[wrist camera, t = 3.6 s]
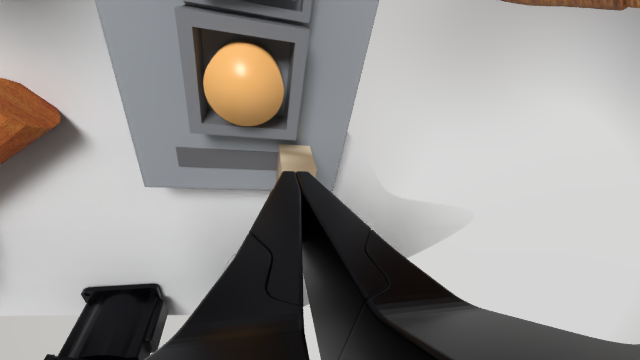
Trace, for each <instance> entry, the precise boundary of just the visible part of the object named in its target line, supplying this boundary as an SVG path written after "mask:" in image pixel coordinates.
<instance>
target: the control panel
mask: <svg viewBox="0 0 640 360" xmlns="http://www.w3.org/2000/svg"><path fill="white" fill-rule="evenodd" d="M95 3H96V6H97V10H98V14H99V18H100V21H101V25H102V29H103V32H104V36H105V40H106V44H107V47H108V51H109V55H110V59H111V62H112V66H113V70H114V74H115V77H116V81H117V85H118V88H119V92H120V96H121V100H122V103H123V107H124V111H125V115H126V118H127V122H128V126H129V130H130V133H131V137H132V141H133V144H134V148H135V152H136V156H137V159H138V163H139V167H140V171H141V174H142V178H143V182H144V186H145V187H167V188H214V189H262V190H273V188H274V186H275V184H276V173H277V162H278V150H279V144H287V145H303V146H310V148H311V152H312V155H313V158H314V162H315V165H316V168H317V172H316V177H315V178H316V179H317V180H318V181H319V182H320V183H321V184H322V185H324V186H325V187H326V188H327V189H328V190H329V191H333V187H334V183H335V179H336V175H337V171H338V167H339V162H340V158H341V154H342V150H343V146H344V142H345V138H346V134H347V130H348V126H349V122H350V117H351V113H352V109H353V105H354V101H355V97H356V93H357V89H358V84H359V81H360V76H361V73H362V68H363V64H364V60H365V56H366V52H367V48H368V44H369V40H370V36H371V31H372V28H373V23H374V19H375V15H376V11H377V7H378V3H379V0H95ZM235 39H250V40H253V41H256V42H258V43H260V44H262V45H263V46H265V47H266V48H267V49H268V50H269V51H270V52H271V53H272V54H273V56H274V57H275V59H276V61H277V62H278V65H279V68H280V73H281V77H282V82H283V87H284V96H283V101H282V104H281V106H280V108H279V110H278V112H277V113H276V114H275V115H274V116H273V117H272V118H271V119H270V120H268V121H266V122H264V123H262V124H259V125H255V126H241V125H236V124H233V123H231V122H229V121H227V120H225V119H223V118H222V117H221V116H219V115H218V114H217V113H216V112H215V111H214V110H213V108H212V107H211V106H210V104H209V102H208V100H207V98H206V95H205V92H204V86H203V80H204V74H205V70H206V68H207V66H208V64H209V63H210V61H211V60H212V58H213V57H214V55H215V54H216V52H217V51H218V50H219V49H220V47H221V46H223V45H224V44H225V43H227V42H229V41H231V40H235Z"/></svg>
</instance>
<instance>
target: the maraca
mask: <svg viewBox="0 0 640 360" xmlns="http://www.w3.org/2000/svg"><path fill="white" fill-rule="evenodd" d="M60 119H61V116H60V114H59V112H58V110H57V108H56V107H54V106H53V105H51V104H50V103H48V102H47V101H45V100H44V99H42V98H41V97H39V96H38V95H37V94H35V93H34V92H32V91H31V90H29V89H28V88H26V87H25V86H23V85H22V84H20V83H17V82H14V81H10V80H7V79H3V78H0V164H2V163H3V162H5V161H6V160H8V159H9V158H11V157H12V156H13V155H15V154H16V153H18V152H19V151H21V150H22V149H23V148H25V147H26V146H28V145H29V144H31V143H32V142H34V141H35V140H36V139H38V138H39V137H41V136H42V135H44V134H45V133H46V132H48V131H49V130H51V129H52V128H54V127H55V126H57V125H58V124H59V123H60Z"/></svg>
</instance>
